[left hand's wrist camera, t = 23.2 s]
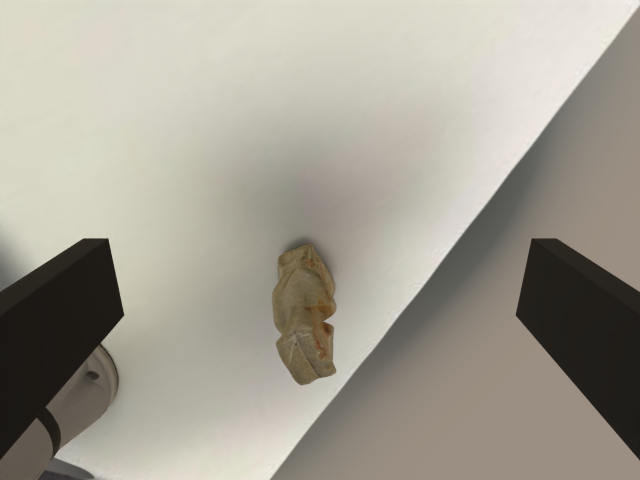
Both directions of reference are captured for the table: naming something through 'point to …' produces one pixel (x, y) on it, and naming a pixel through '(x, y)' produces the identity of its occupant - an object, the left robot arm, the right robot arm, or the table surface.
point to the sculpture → (304, 314)
